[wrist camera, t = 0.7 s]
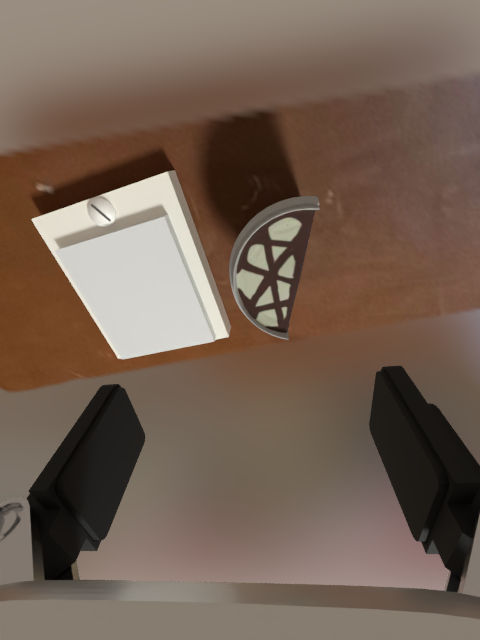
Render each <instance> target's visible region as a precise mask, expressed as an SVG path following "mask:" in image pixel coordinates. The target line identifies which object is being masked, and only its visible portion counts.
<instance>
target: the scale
mask: <svg viewBox="0 0 480 640" xmlns="http://www.w3.org/2000/svg"><path fill="white" fill-rule="evenodd" d="M31 220H32V222H33V223H34V225H35V226H36V228H37V230H38V231H39V233H40V234H41V236H42V238H43V239H44V241H45V242H46V244H47V246H48V247H49V249H50V250H51V252H52V254H53V255H54V257H55V258H56V260H57V262H58V263H59V265H60V266H61V268H62V270H63V271H64V273H65V274H66V276H67V278H68V279H69V281H70V282H71V284H72V286H73V287H74V289H75V290H76V292H77V294H78V295H79V297H80V298H81V300H82V302H83V303H84V305H85V306H86V308H87V310H88V311H89V313H90V314H91V316H92V318H93V319H94V321H95V322H96V324H97V326H98V327H99V329H100V330H101V332H102V334H103V335H104V337H105V338H106V340H107V342H108V343H109V345H110V346H111V348H112V349H113V351H114V353H115V354H116V356H117V357H118V359H119V358H121V359H127V358H132V357H137V356H143V355H148V354H153V353H158V352H163V351H168V350H173V349H178V348H183V347H189V346H194V345H199V344H204V343H209V342H214V341H215V340H216V339H221V338H226V337H229V334H230V329H231V325H230V322H229V320H228V317H227V314H226V311H225V309H224V306H223V303H222V300H221V297H220V295H219V292H218V289H217V286H216V283H215V281H214V278H213V275H212V272H211V270H210V267H209V264H208V261H207V258H206V256H205V253H204V250H203V247H202V244H201V242H200V239H199V236H198V233H197V231H196V228H195V225H194V222H193V219H192V217H191V214H190V211H189V208H188V205H187V203H186V200H185V197H184V194H183V191H182V189H181V186H180V183H179V180H178V178H177V175H176V172H175V170H173V171H167V172H165V173H162V174H159V175H156V176H153V177H150V178H147V179H145V180H142V181H139V182H136V183H133V184H130V185H127V186H125V187H122V188H119V189H116V190H113V191H110V192H107V193H105V194H102V195H99V196H96V197H93V198H90V199H88V200H85V201H82V202H79V203H76V204H73V205H70V206H68V207H65V208H62V209H59V210H56V211H53V212H50V213H48V214H45V215H42V216H39V217H36V218H33V219H31Z"/></svg>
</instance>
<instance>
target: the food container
mask: <svg viewBox="0 0 480 640" xmlns="http://www.w3.org/2000/svg"><path fill="white" fill-rule="evenodd" d="M315 210H320V208H319V200H318V196H301V197H293V198H289V199H286V200H282V201H279V202H277V203H275V204H273V205H271V206H269V207H267V208H265V209H264V210H262V211H261V212H259V213H258V214H257V215H256V216H255V217H253V218H252V219H251V220H250V221H249V222H248V223H247V225H246V226H245V227H244V228H243V230H242V231H241V232H240V234H239V236H238V238H237V240H236V242H235V244H234V247H233V249H232V252H231V257H230V263H229V276H230V282H231V287H232V291H233V294H234V297H235V300H236V302H237V304H238V306H239V308H240V309H241V311H242V312H243V313H244V315H245V316H246V317H247V318H248V319H249V320H250V321H251V322H252V323H253V324H254V325H255V326H257V327H258V328H260V329H261V330H262V331H264V332H266V333H268V334H270V335H273V336H276V337H278V338H282V339H287V340H288V339H289V337H288V327H289V321H290V316H291V312H292V308H293V304H294V300H295V295H296V292H297V288H298V284H299V280H300V275H301V271H302V266H303V261H304V257H305V252H306V248H307V244H308V239H309V235H310V231H311V226H312V222H313V217H314V213H315Z"/></svg>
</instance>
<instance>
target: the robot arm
mask: <svg viewBox="0 0 480 640" xmlns="http://www.w3.org/2000/svg"><path fill="white" fill-rule="evenodd" d="M369 425H370V431H371V435H372V437H373V439H374V442H375V445H376V447H377V449H378V452H379V454H380V457H381V459H382V462H383V464H384V467H385V469H386V472H387V474H388V476H389V479H390V481H391V484H392V486H393V489H394V491H395V494H396V496H397V499H398V501H399V504H400V506H401V508H402V510H403V513H404V516H405V518H406V521H407V523H408V526H409V528H410V531H411V533H412V535H413V537H414V538H415V540H416V541H421V542H422V545H423V547H424V549H425V552H426V554H439V555H440V557H441V559H442V561H443V563H444V565H445V567H446V568H447V569H448V570H449V572H448V576H447V580H446V584H445V587H444V591H438V590H428V589H415V588H394V587H372V586H345V585H343V586H342V585H308V584H307V585H306V584H270V583H269V584H268V583H226V582H223V583H222V582H180V581H177V582H176V581H121V580H120V581H119V580H80V577H79V572H78V565H77V560H76V559H77V557H78V555H79V552H80V551H97V549H98V547H99V544H100V542H101V540H103V539H105V537H106V536H107V534H108V531H109V529H110V527H111V524H112V522H113V519H114V517H115V514H116V512H117V509H118V506H119V504H120V502H121V499H122V497H123V494H124V492H125V489H126V487H127V484H128V482H129V479H130V477H131V474H132V472H133V469H134V467H135V465H136V462H137V459H138V457H139V455H140V452H141V450H142V447H143V445H144V442H145V433H144V431H143V428H142V426H141V424H140V422H139V420H138V417H137V415H136V413H135V411H134V408H133V406H132V404H131V402H130V400H129V397H128V395H127V393H126V391H125V389H124V388H121V386H120V385H119V384H113V385H103V386H101V387H100V388H99V390H98V391H97V393H96V395H95V396H94V397H93V399H92V400H91V401H90V403H89V404H88V406H87V407H86V409H85V410H84V412H83V413H82V415H81V416H80V418H79V419H78V420H77V422H76V423H75V425H74V426H73V428H72V429H71V431H70V432H69V433H68V435H67V436H66V438H65V439H64V441H63V442H62V443H61V445H60V446H59V448H58V449H57V451H56V452H55V454H54V455H53V456H52V458H51V459H50V461H49V462H48V464H47V465H46V467H45V468H44V470H43V471H42V472H41V474H40V475H39V477H38V478H37V480H36V481H35V483H34V484H33V486H32V487H31V488H30V490H29V492H30V495H29V496H28V497H27V499H25V498H24V497H16V498H11V499H9V500H7V501H4V502H2V503H0V640H480V466H479V464H478V463H477V461H476V460H475V459H474V457H473V456H472V454H471V453H470V452H469V450H468V449H467V448H466V446H465V445H464V443H463V442H462V440H461V439H460V438H459V436H458V435H457V433H456V432H455V431H454V429H453V428H452V426H451V425H450V424H449V422H448V421H447V420H446V418H445V417H444V416H443V414H442V413H441V411H440V410H439V409H438V408H437V406H435V405H434V404H428V403H427V402H426V400H425V399H424V398H423V396H422V395H421V393H420V392H419V390H418V389H417V387H416V386H415V385H414V383H413V382H412V380H411V379H410V377H409V376H408V374H407V373H406V372H405V370H404V368H403V367H402V366H389V367H382V369H381V371H379V372H377V373H376V378H375V386H374V393H373V400H372V409H371V416H370V424H369Z"/></svg>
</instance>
